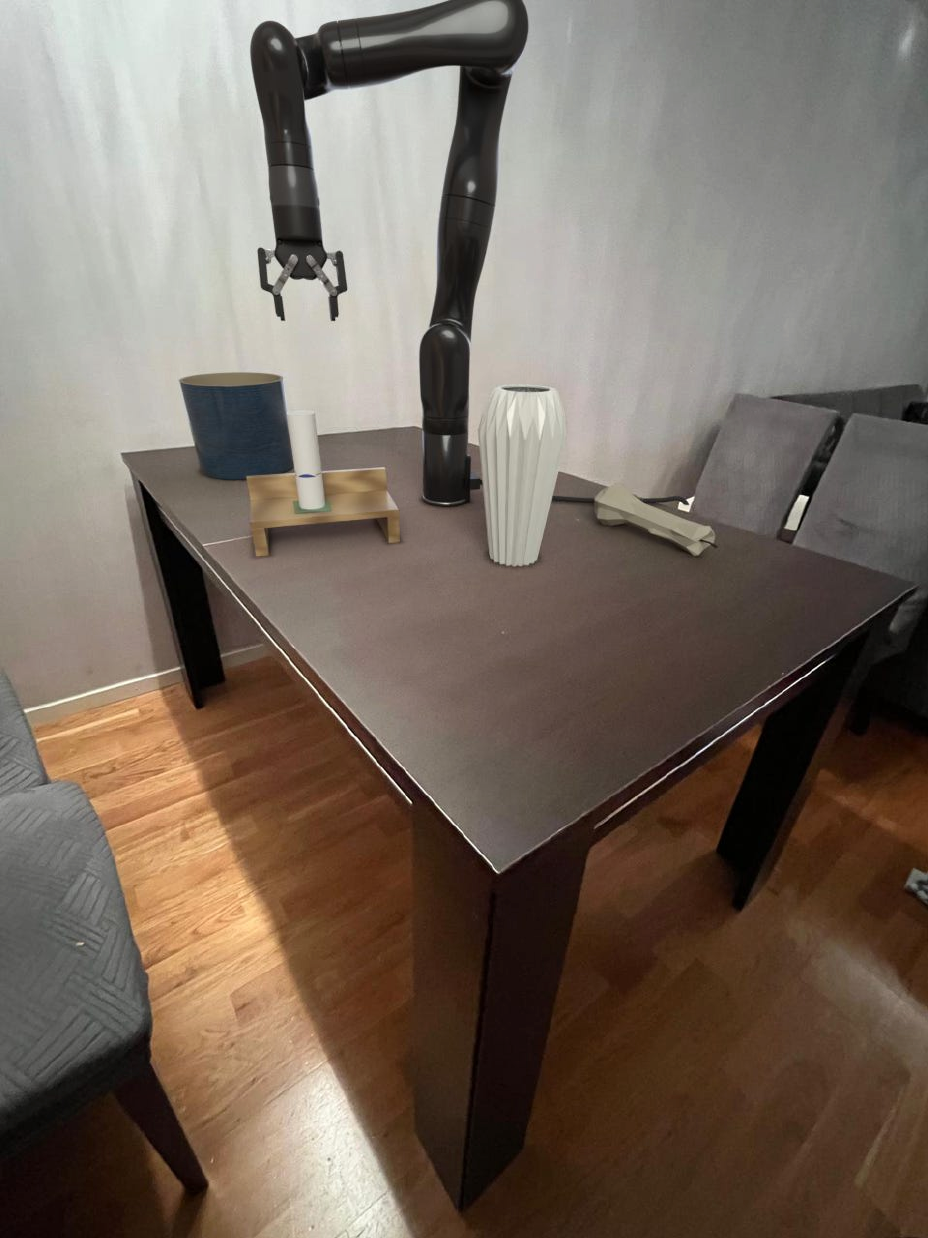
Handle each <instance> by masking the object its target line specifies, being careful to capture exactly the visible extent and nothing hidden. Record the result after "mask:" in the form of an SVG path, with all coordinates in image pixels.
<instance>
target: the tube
mask: <svg viewBox="0 0 928 1238" xmlns="http://www.w3.org/2000/svg"><path fill="white" fill-rule="evenodd" d="M286 414H287V421H288V428H289V435H290V442H291V449H292V457H293V470H294V473H295V478H296V485H297V492H298V500H299V506H300V508H303V509H319V508H322V507H324V506H325V498H324V489H323V480H322V472H321V471H322V464H321V456H320V447H319V438H318V429H317V421H316V420H317V419H316V412H315V411H313V410H307V409H299V410H298V409H297V410H290V411H288V412H287V413H286Z"/></svg>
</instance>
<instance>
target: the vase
mask: <svg viewBox="0 0 928 1238" xmlns="http://www.w3.org/2000/svg"><path fill="white" fill-rule="evenodd" d="M567 424H568V423H567V417H566V410H565V407H564V404H563V402H562V399H561V397H560V395H559V392H558V390H557V388H555V387H550V386H547V385H542V384H541V385H539V384H538V385H537V384H526V383H523V384H522V383H521V384H518V383H515V384H501V385H498V386H497V385H496V386H495V387H494V388H493V390H492V391H491V394H489V397H488V398H487V401H486V402H485V404H484V406H483V409H482V413H481V417H480V420H479V424H478V427H477V435H478V436H477V437H478V448H479V460H480V469H481V471H480V472H481V480H482V482H483V485H482V491H483V503H484V513H485V514H484V515H485V524H486V536H487V545H488V555H489V557H490V560H493V562H494V563H499V564H498V565H504V566H506V567H508V566H512V567H513V568H515V567H518V566H519V567H523V566H529V565H530V564H535V562H537V561H538V557H539V553H540V549H541V545H542V541H543V537H544V533H545V529H546V525H547V520H548V518H549V517H548V516H549V512H550V507H551V505H552V501H553V500H552V496H554V493H555V492H554V491H555V488H556V484H557V480H558V479H557V478H558V475H559V469H560V468H561V467H560V466H561V462H562V458H563V453H564V449H565V445H566V440H567V437H568V426H567Z"/></svg>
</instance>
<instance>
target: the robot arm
mask: <svg viewBox="0 0 928 1238" xmlns="http://www.w3.org/2000/svg"><path fill="white" fill-rule="evenodd" d="M529 31H530V21H529V13H528V9H527V6H526V3H525V1H524V0H445V1H442V2H438V3H435V4H431V5H427V6H424V7H420V8H416V9H411V10H406V11H400V12H393V13H388V14H380V15H379V14H378V15H371V16H364V17H363V16H362V17H356V18H347V19H346V18H345V19H340V20H332V21H328V22H325V23H322V24H321V25H320V26H319V28H318V30H317V32H315V33H313V34H312V33H311V34H307V35H304V36H299V37H294V35H293V34H292V33H291V31H290V30H289V29H288V28H286V26H285V25H283V24H282V23H280V22H278V21H275V20H265V21H262V22H261V23H260V24H258V25H257V27H256V28H255V29H254V31H253V32H252V36H251V40H250V46H249V55H250V56H249V57H250V65H251V72H252V78H253V83H254V89H255V93H256V97H257V103H258V107H259V111H260V116H261V120H262V126H263V136H264V137H263V138H264V147H265V156H266V162H267V172H268V173H267V174H268V191H269V201H270V209H271V215H272V222H273V231H274V232H273V233H274V239H275V248H274V249H270V248H269V249H268V248H263V247H261V246H260V247H258V248H257V251H256V252H257V262H258V263H257V264H258V275H259V284H260V289H261V290H263V291H265V292H268V293H270V294H271V295H272V297H273V305H274V311H275V314H276V317H277V318H280V321H281V322H286V316H285V307H284V300H283V299H284V298H283V295H281V294H282V293H281V292H282V290H283V288H284V286H285V285H286V283H287V282H288V279H289V278H290V279H292V280H295V281H300V280H303V279H304V280H306V281H315V280H316V279H317V280H318V282H319V283H320V284H321V285H322V286H323V288H324V289H325V290H326V292H327V293H328V295H329V296H327V300H328V309H329V320H330V321H331V322H336V318H339V316H340V315H339V314H340V313H339V302H338V301H339V300H338V299H339V298H338V297H339V295H341V294H343V293H347V291H348V283H347V281H348V280H347V275H346V274H347V273H346V267H345V259H344V253H343V251H342V250H337V251H328V252H326V249H325V247H324V241H323V232H322V231H323V230H322V229H323V228H322V219H321V208H320V207H321V202H320V197H319V189H318V183H317V179H316V173H315V172H316V171H315V163H314V152H313V142H312V141H313V140H312V136H311V132H310V128H309V125H308V122H307V115H306V104H305V102H306V101H310V100H313V99H316V98H320V97H323V96H325V95H328V94H330V93H332V92H336V91H348V90H355V89H364V88H370V87H378V86H382V85H385V84H389V83H393V82H396V81H398V80H401V79H404V78H406V77H409V76H412V75H415V74H417V73H421V72H424V71H429V70H433V69H438V68H439V69H440V68H445V67H459V75H458V76H459V79H458V93H457V94H458V95H457V106H456V117H455V124H454V129H453V133H452V138H451V142H450V145H449V146H450V147H449V150H448V154H447V160H446V165H445V169H444V176H443V181H442V186H441V194H440V200H439V207H438V208H439V209H438V215H437V216H438V217H437V226H436V227H437V228H436V244H435V245H436V246H435V248H436V249H435V265H436V267H435V268H436V283H435V293H434V300H433V305H432V309H431V314H430V318H429V319H430V320H429V323H428V327H427V330H425V332H424V334H423V335H422V336H421V339H420V342H419V347H418V348H419V349H418V372H419V373H418V375H419V396H420V397H419V398H420V403H421V430H422V431H421V432H422V434H421V435H422V436H421V437H422V438H421V439H422V488H423V489H422V493H423V494H422V500H423V502H425V503H426V504H429V505H432V506H438V507H454V506H459V505H462V504H465V503H470V502H471V491H476V490H477V491H478V490H481V486H483V482H482V477H480V476H479V475H477V474H476V473H475V472H474V471H472V456H471V455H470V454H469V425H470V424H469V423H470V364H471V363H470V361H471V353H472V331H473V316H474V307H475V301H476V295H477V294H476V293H477V290H478V287H479V282H480V278H481V276H482V272H483V269H484V266H485V262H486V257H487V252H488V248H489V245H490V239H491V234H492V229H493V224H494V217H495V212H496V206H497V200H498V199H497V197H498V190H499V189H498V187H499V168H500V167H499V166H500V154H499V153H500V136H501V127H502V122H503V117H504V114H505V113H504V112H505V107H506V102H507V98H508V94H509V90H510V87H511V82H512V79H513V76H514V73H515V71H516V70H515V69H516V67H517V66H518V63H519V62H520V60H521V58H522V56H523V54H524V51H525V49H526V46H527V43H528V38H529V33H530V32H529ZM273 258H275V260H276V261H277V263H278V264H279V265H280V267H281V268H282V270H281V272H280V274H279V276H278V278H277V279H276V282H275V283H274V284H270V283H269V280H268V279H269V278H268V268H267V267H268V266H267V265H270V264H271V263H272V259H273ZM328 260H329V261H330V264H331V266H332V267H334V268H335V271H336V277H337V278H336V279H337V285H335V286H334V284H333V283H332V282H331V280H330V279H329V277H328V276H327V275H326V273H325V272H324V270H323V268H324V266H325V264H326V263H327V261H328ZM594 499H595V497H594V498H593V497H577V496H576V497H575V496H564V495H553V496H552V500H551V501H555V502H556V501H557V502H569V503H586V504H595V503H594ZM638 499H639V500H640V501H642V502H643V503H645V504H665V503H670V502H680V503H682V505H684V506H690V503H689V501H688V500H687V499H686V498H684V497H683V496H679V495H673V496H667V497H647V498H646V497H644V498H638ZM642 499H643V500H642Z"/></svg>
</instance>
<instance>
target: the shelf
mask: <svg viewBox="0 0 928 1238" xmlns="http://www.w3.org/2000/svg"><path fill="white" fill-rule="evenodd" d="M386 471H387V469H386V468H385V466H381V467H379V466H378V467H365V468H364V467H363V468H351V469H335V470H321V472H322V480H323V489H324V498H325V506H324V507H322V508H319V509H303V508H300V506H299V500H298V492H297V485H296V478H295V472H287V473H286V472H284V473H281V474H270V475H254V476H247V477H246V483H247V489H248V494H249V500H250V502H249V503H250V504H249V505H250V507H249V509H250V510H249V527H250V531H251V537H252V541H253V547H254V552H255V557H257V558H259V557H267V556H270V552H269V551H270V545H269V543H270V542H269V529H270V528H280V527H291V526H303V525H315V524H324V523H325V524H326V523H335V522H347V521H348V522H349V521H358V520H370V519H376V520H377V522H378V524H379V526H380V529H381V531H382V532H383V534H384V535H385V538H386V540H387V542H388V544H394V543H401V532H400V531H401V529H400V509H399V508H398V506H397V504H396V503H395V501H394V499H393V498H392V496H391V494H390V493H389V492H388V488H387V486H388V485H387V472H386Z"/></svg>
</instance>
